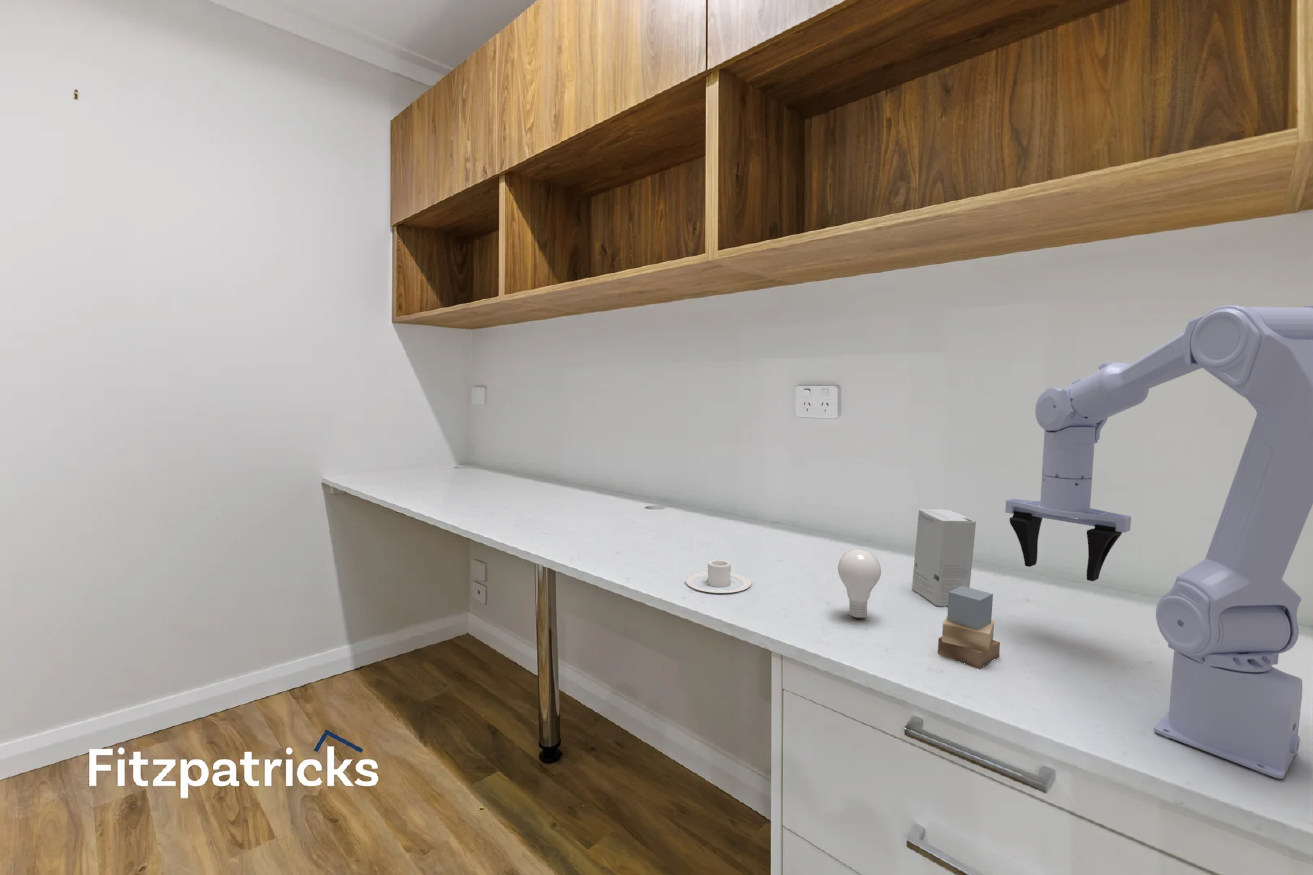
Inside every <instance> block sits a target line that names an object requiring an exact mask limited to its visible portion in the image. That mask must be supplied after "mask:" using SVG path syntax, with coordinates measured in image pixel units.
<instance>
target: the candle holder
mask: <svg viewBox="0 0 1313 875" xmlns="http://www.w3.org/2000/svg"><path fill="white" fill-rule="evenodd" d="M731 568H732V564H731V562H730V561H728V560H724V559H712V560H708V562H707V571H701V572H696V573H693V574H690V575H689V576H687V577H686V578H685V581H684V582H685V583H686V584H687V585H688V587H690V588H692V589H694V590H696V591H700V592H706V593H712V594H732V593H738V592H742V591H745V590H747V589H749V588H750V587H751V586H752V581H751V580H750V578H748V577H747V576H746V575H745V576H744V575H742V574H740V573H735V572H732V571H731ZM704 577H707V584H708V586H711V587H713V588H726V587H729V586H730V585H731V580H732V579H734V580H737V581H739V582H740V586H739V587H737V588H733V589H726V590H715V589H714V590H713V589H707V588H702V587H700V586H697V585H696V584H695V581H696V580H698V579H701V578H704Z"/></svg>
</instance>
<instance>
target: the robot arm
mask: <svg viewBox="0 0 1313 875" xmlns="http://www.w3.org/2000/svg"><path fill="white" fill-rule="evenodd" d="M1200 369H1204V371H1205V372H1208V373H1209V374H1211V375H1212V376H1213V377H1214V378H1216V379H1217V380H1218V381H1220V382H1222V384H1224V385H1226V386H1227V387H1228V388H1229V389H1231V390H1233V392H1235V393H1237V394H1238V395H1240V396H1241V397H1243V398H1245V399H1246V400H1247V401H1248V403H1249V404H1250V405H1251V407H1253V409H1254V410H1255V412H1256V416H1255V418H1254V421H1253V424H1252V427H1251V430H1250V433H1249V435H1248V438H1247V441H1246V444H1245V447H1244V450H1243V453H1242V454H1241V457H1240V461H1239V463H1238V465H1237V469H1236V471H1235V473H1234V478H1233V480H1232V483H1231V486H1230V488H1229V492H1228V494H1227V497H1226V499H1225V502H1224V505H1223V508H1222V510H1221V513H1220V516H1219V519H1218V522H1217V525H1216V527H1215V529H1214V532H1213V536H1212V539H1211V540H1210V541H1211V542H1210V545H1209V547H1208V549H1207V553H1206V555H1205V557H1204V558H1203V560H1201V561H1199V562H1198V563H1197V564H1195V565H1193V566H1192V567H1190V568H1188V569H1186V570H1185V571H1183V572H1182V573H1180V574H1178V575H1177V576H1176V578H1175V581H1174V584H1173V585H1172V586H1173V587H1172V588H1171V590H1169V591H1168V592H1167V593H1166V594H1164V595H1163V596H1162V597H1161V598H1159V601H1157V602H1158V603H1157V605H1156V610H1155V620H1156V624H1157V627H1158V630H1159V632H1160V634H1161V636H1162V637H1163V638H1164V640H1165V641H1166V642H1167V644H1168V645H1167V647H1168V648H1169V649H1171V650H1173V656H1172V657H1173V660H1172V671H1171V682H1170V695H1169V708H1168V712H1166V714H1165V715H1164V716H1163V717H1162V718H1160V720H1159V721H1158V722H1157V723H1156V724H1155V725H1154V726H1153V731H1154V733H1157V734H1159V735H1161V736H1164V737H1167V738H1168V739H1169V738H1170V739H1172V740H1174V741H1178V742H1180V743H1183V744H1185V745H1187V746H1190V747H1194V748H1196V749H1198V750H1202V751H1204V752H1207V753H1209V754H1211V755H1215V756H1217V757H1219V758H1222V759H1225V760H1228V761H1231V762H1233V763H1236V764H1238V765H1241V766H1244V767H1246V768H1249V769H1251V770H1253V771H1257V772H1259V773H1262V774H1264V775H1266V776H1269V777H1273V778H1275V779H1279V780H1281V779H1284V778H1285V775H1286V773H1287V772H1288V769H1289V767H1290V766H1291V763H1292V761H1293V759H1294V758H1295V756H1297V754H1298V752H1299V747H1300V741H1301V739H1300V738H1301V737H1300V736H1299V727H1300V718H1301V710H1302V709H1301V708H1302V699H1303V698H1302V697H1303V679H1302V678H1300V677H1299V676H1295V675H1292V674H1289V673H1287V672H1284V671H1282V670H1279V669H1278V668H1276V667H1274V666H1275V665H1278V664H1279V654H1283V653H1286V652H1288V651H1290V650H1291V649H1292V648H1294V646H1295V645H1296V644H1297V641H1298V639H1299V633H1300V629H1299V623H1298V617H1297V616H1298V615H1297V614H1298V608H1299V606H1300V603H1301V601H1302V598H1301V596H1300V595H1299V593H1297V592H1296V591H1295V590H1294V589H1293V587H1291V586H1290V585H1289V584H1288V583H1286V582H1285V581H1284V580H1283V578H1284V575H1285V573H1286V570H1287V568H1288V565H1289V563H1290V561H1291V558H1292V556H1293V553H1294V551H1295V549H1296V545H1297V544H1298V542H1299V539H1300V536H1301V534H1302V532H1303V528H1304V526H1305V524H1306V522H1307V519H1308V517H1309V514H1310V512H1311V509H1312V507H1313V305H1305V306H1300V307H1299V306H1298V307H1295V306H1291V307H1290V306H1285V307H1284V306H1242V305H1234V304H1233V305H1232V304H1230V305H1229V304H1228V305H1221V306H1219V307H1216V308H1213V309H1211V310H1210V311H1208V312H1207V313H1205V314H1204V315H1203V316H1199V317H1197V318H1194V319H1191V320H1189V321H1188V323H1187V325H1186V327H1185V330H1184V331H1182V332H1180V333H1179V334H1178V335H1176V336H1174V337H1173V338H1171V339H1169V340H1168V341H1166V342H1165V343H1163V344H1161V345H1160V346H1158V347H1157V348H1154V349H1153V350H1151V351H1150V352H1147V353H1146V354H1145V355H1143V356H1141V357H1140V358H1138V359H1137V360H1135V361H1133V362H1132V363H1127V362H1121V361H1120V362H1119V361H1118V362H1117V361H1115V362H1114V361H1109V362H1108V361H1105V362H1103V363H1102V364H1100V365H1099V366H1098V370H1097V371H1095V372H1093V373H1092V374H1090V375H1087V376H1086V377H1083V378H1081V379H1080V378H1079V379H1076V380H1074V381H1073V382H1072V384H1071V385H1069V386H1068V387H1067V388H1063V389H1061V388H1058V387H1049V388H1048V387H1047V388H1046V390H1044V392H1042V393H1041V394H1040V395H1039V397H1038V399H1037V400H1036V403H1035V408H1034V409H1035V411H1034V412H1035V413H1034V414H1035V418H1036V421H1037V423H1038V425H1039V426H1040V428H1042V429H1043V430H1044V433H1043V434H1044V436H1043V452H1042V468H1041V469H1042V470H1041V484H1040V485H1041V486H1040V499H1039V500H1040V501H1037V500H1029V499H1028V500H1026V499H1018V498H1009V499H1006V500H1005V508H1004V509H1005V513H1007V514H1011V515H1012V516H1011V517H1010V518H1009V524H1010V526H1011V527H1012V529H1013V531H1014V533H1015V535H1016V537H1017V540H1018V542H1019V545H1020V548H1021V552H1022V556H1023V560H1024V566H1025V567H1028V568H1030V567H1033V566H1035V565H1037V561H1038V548H1039V547H1038V543H1039V534H1040V530H1041V525H1042V521H1043V519H1049V520H1053V521H1060V522H1065V523H1072V524H1079V525H1084V526H1090V527H1093V528H1090V529H1087V530H1086V537H1087V538H1086V539H1087V548H1088V554H1087V555H1088V557H1087V568H1086V581H1090V582H1095V581H1097V580H1098V579H1099V578H1100V574H1101V570H1102V567H1103V565H1104V563H1105V561H1106V558H1107V556H1108V555H1109V553H1110V551H1111V550H1112V548H1113V547H1114V546H1115V544H1116V542H1117V541H1118V539H1119V538H1120V537H1121V535H1122V534H1123V533H1127V532H1130V531H1131V527H1132V526H1131V523H1132V516H1131V515H1128V514H1127V515H1126V514H1120V513H1116V512H1115V513H1114V512H1110V511H1106V510H1101V509H1097V508H1096V509H1095V508H1092V507H1091V501H1092V500H1091V498H1092V484H1093V471H1094V455H1095V444H1097V443H1098V442H1099V440H1100V436H1101V431H1102V428H1103V427H1104V426H1105V424H1106V423H1107V421H1108V418H1111V417H1113V416H1115V415H1117V414H1119V413H1121V412H1124V411H1126V410H1128V409H1131V408H1133V407H1136V406H1137V405H1138V406H1139V404H1142V403H1143V402H1145V400H1146V399H1147V398H1148V396H1149V391H1150V389H1152V388H1155V387H1157V386H1159V385H1162V384H1165V383H1167V382H1170V381H1172V380H1174V379H1177V378H1180V377H1182V376H1186V375H1188V374H1190V373H1192V372H1195V371H1197V370H1200Z"/></svg>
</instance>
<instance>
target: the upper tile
mask: <svg viewBox="0 0 1313 875" xmlns="http://www.w3.org/2000/svg"><path fill="white" fill-rule="evenodd" d="M994 630H995V619H992V618H991V623H990V624H988V625H987V626H985V627H983V628H981V629H980V630H975V629H972V628H969V627H966V626H963V625H960V624H956V623H953V622H950V621H947V616H946V617H945V619H944V621H943V623H942V632H941V633H942V634H941V637H942V642H945V643H949V644H953V645H958V646H962V647H966V648H971V649H975V650H979V651H984V652H988V653H989V650H990V646H991V643H992V640H994V634H995V633H994Z"/></svg>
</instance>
